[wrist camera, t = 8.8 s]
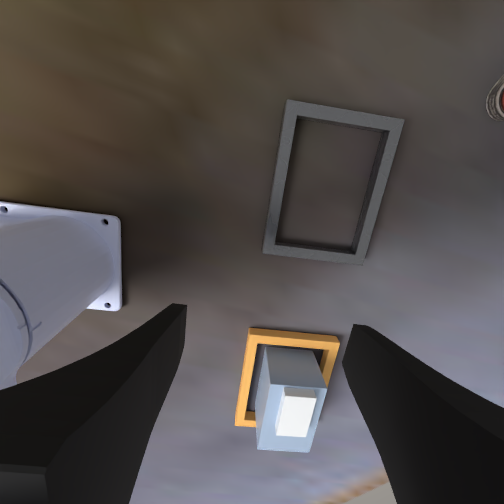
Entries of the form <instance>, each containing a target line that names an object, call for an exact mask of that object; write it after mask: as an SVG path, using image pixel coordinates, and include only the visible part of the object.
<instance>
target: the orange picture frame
mask: <svg viewBox="0 0 504 504" xmlns="http://www.w3.org/2000/svg"><path fill="white" fill-rule="evenodd" d="M257 343H261V344H272V345H283V346H294V347H305V348H316V349H324V351H323V355H322V358H321V362H320V366H319V368H320V371H321V373H322V376H323V379H324V381H325V384H326V386H327V387H328V383H329V380H330V376H331V373H332V369H333V366H334V362H335V359H336V356H337V352H338V349H339V345H340V342H339V340H338V339H337V337H336V336H330V335H320V334H310V333H299V332H289V331H279V330H268V329H258V328H249V332H248V338H247V345H246V351H245V357H244V364H243V370H242V376H241V383H240V389H239V395H238V402H237V408H236V414H235V426H248V427H256V416H255V412H252V411H246V406H247V400H248V394H249V389H250V383H251V377H252V371H253V366H254V360H255V354H256V348H257Z"/></svg>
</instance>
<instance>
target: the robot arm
mask: <svg viewBox="0 0 504 504" xmlns="http://www.w3.org/2000/svg"><path fill="white" fill-rule="evenodd" d="M5 207H6V208H7V209H8V212H7V211H6V210H5ZM104 219H107V220H108V225H107V224H105V223H104ZM107 303H110V304H111V306H109V305H107ZM121 307H122V269H121V222H120V219H119V218H118V217H116V216H112V215H104V214H96V213H88V212H81V211H73V210H65V209H57V208H49V207H41V206H33V205H26V204H18V203H10V202H2V201H0V504H129V501H130V498H131V495H132V492H133V488H134V485H135V482H136V479H137V476H138V472H139V469H140V466H141V463H142V460H143V457H144V453H145V450H146V447H147V444H148V441H149V438H150V435H151V432H152V430H153V427H154V424H155V422H156V419H157V417H158V415H159V412H160V410H161V407H162V405H163V403H164V400H165V398H166V396H167V393H168V391H169V388H170V386H171V384H172V381H173V379H174V376H175V374H176V372H177V369H178V366H179V363H180V359H181V356H182V352H183V349H184V342H185V328H186V314H187V305H183V304H174V303H172V304H171V305H169V306H168V307H167V308H165V309H164V310H162V311H161V312H160V313H158V314H157V315H156V316H154V317H153V318H152V319H150V320H149V321H147V322H146V323H144V324H143V325H142V326H140V327H139V328H137V329H136V330H134V331H132V332H131V333H129V334H128V335H126V336H124V337H123V338H121V339H120V340H118V341H116V342H114V343H113V344H111V345H109V346H107V347H105V348H103V349H101V350H99V351H97V352H95V353H93V354H91V355H89V356H87V357H85V358H83V359H80V360H78V361H76V362H74V363H71V364H69V365H67V366H64V367H62V368H60V369H58V370H55V371H53V372H50V373H47V374H45V375H42V376H39V377H37V378H34V379H31V380H28V381H25V382H23V383H20V384H17V382H16V373H17V370H18V369H19V368H20V367H21V366H22V365H23V364H24V363H25V362H26V361H28V360H29V359H30V358H31V357H32V356H33V355H34V354H35V353H37V352H38V351H39V350H40V349H41V348H42V347H43V346H44V345H46V344H47V343H48V342H49V341H50V340H51V339H52V338H53V337H54V336H56V335H57V334H58V333H59V332H60V331H61V330H62V329H63V328H65V327H66V326H67V325H68V324H69V323H70V322H71V321H72V320H74V319H75V318H76V317H77V316H78V315H79V314H80V313H81V312H83V311H84V310H85V309H86V308H88V309H98V310H108V311H118V310H119V309H120V308H121ZM342 364H343V368H344V371H345V375H346V378H347V381H348V384H349V387H350V389H351V391H352V394H353V396H354V398H355V400H356V402H357V405H358V407H359V409H360V411H361V413H362V415H363V418H364V420H365V422H366V424H367V426H368V428H369V431H370V433H371V435H372V437H373V439H374V441H375V444H376V446H377V449H378V451H379V453H380V456H381V459H382V462H383V464H384V467H385V470H386V473H387V476H388V478H389V481H390V484H391V486H392V490H393V493H394V496H395V499H396V502H397V504H504V408H502V407H500V406H498V405H496V404H494V403H492V402H490V401H488V400H486V399H485V398H483V397H481V396H479V395H477V394H475V393H473V392H472V391H470V390H468V389H466V388H464V387H463V386H461V385H459V384H457V383H456V382H454V381H452V380H450V379H449V378H447V377H445V376H444V375H442V374H441V373H439V372H437V371H436V370H434V369H433V368H431V367H429V366H428V365H426V364H425V363H423V362H422V361H420V360H419V359H417V358H416V357H414V356H413V355H411V354H410V353H408V352H407V351H405V350H404V349H402V348H401V347H400V346H398V345H397V344H395V343H394V342H392V341H391V340H389V339H388V338H386V337H385V336H383V335H382V334H380V333H379V332H377V331H376V330H374V329H372V328H371V327H369V326H366V325H357V324H353V328H352V331H351V334H350V338H349V341H348V344H347V348H346V351H345V354H344V357H343V361H342Z"/></svg>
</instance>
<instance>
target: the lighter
mask: <svg viewBox="0 0 504 504" xmlns="http://www.w3.org/2000/svg"><path fill="white" fill-rule="evenodd" d="M486 109H487V112H488V114H489V116H490V117H491V118H492V119H494V120H497V121H504V74H503V76H502V77H501V78H500V79H499V80H498V82H497V83H496V84H495V85H494V87H493V88H492V89H491V91H490V92H489V94H488V96H487V100H486Z"/></svg>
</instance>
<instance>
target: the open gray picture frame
mask: <svg viewBox="0 0 504 504" xmlns="http://www.w3.org/2000/svg"><path fill="white" fill-rule="evenodd" d="M296 118H297V119H303V120H309V121H315V122H321V123H327V124H333V125H339V126H345V127H351V128H357V129H363V130H369V131H375V132H381V133H382V136H381V139H380V143H379V147H378V150H377V154H376V158H375V162H374V165H373V169H372V173H371V176H370V180H369V184H368V188H367V191H366V195H365V199H364V202H363V206H362V210H361V214H360V217H359V221H358V225H357V228H356V232H355V236H354V240H353V243H352V247H351V251H346V250H338V249H330V248H322V247H314V246H306V245H298V244H290V243H282V242H275V239H276V233H277V227H278V221H279V215H280V210H281V204H282V198H283V192H284V187H285V181H286V175H287V169H288V164H289V158H290V152H291V146H292V140H293V135H294V129H295V123H296ZM404 121H405V120H404V119H399V118H393V117H387V116H381V115H375V114H369V113H364V112H358V111H352V110H346V109H340V108H335V107H329V106H323V105H317V104H311V103H305V102H300V101H294V100H288V99H287V101H286V102H285V105H284V111H283V117H282V124H281V130H280V136H279V143H278V149H277V155H276V162H275V168H274V174H273V181H272V187H271V193H270V199H269V206H268V212H267V218H266V225H265V231H264V237H263V244H262V253H263V254H271V255H280V256H288V257H296V258H304V259H313V260H321V261H329V262H337V263H346V264H354V265H362V266H363V262H364V259H365V255H366V252H367V248H368V245H369V242H370V238H371V235H372V231H373V228H374V224H375V221H376V217H377V214H378V210H379V207H380V204H381V200H382V197H383V193H384V190H385V186H386V183H387V179H388V176H389V172H390V169H391V166H392V162H393V159H394V155H395V152H396V148H397V145H398V141H399V138H400V134H401V131H402V128H403V124H404Z"/></svg>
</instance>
